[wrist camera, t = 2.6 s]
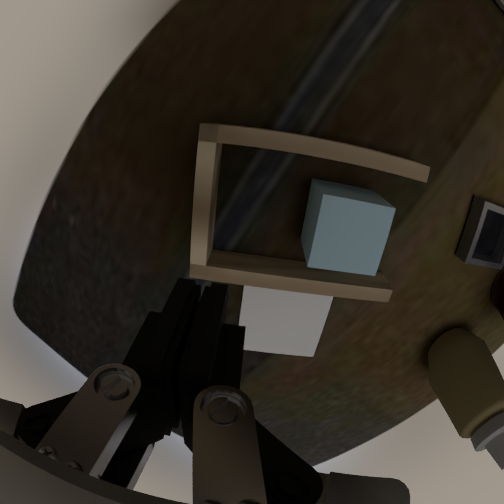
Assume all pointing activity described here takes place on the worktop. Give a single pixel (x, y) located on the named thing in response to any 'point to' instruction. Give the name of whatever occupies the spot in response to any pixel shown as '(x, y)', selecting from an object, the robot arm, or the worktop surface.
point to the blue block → (345, 228)
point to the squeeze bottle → (469, 389)
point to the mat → (283, 320)
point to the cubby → (269, 268)
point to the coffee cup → (499, 293)
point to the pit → (483, 235)
